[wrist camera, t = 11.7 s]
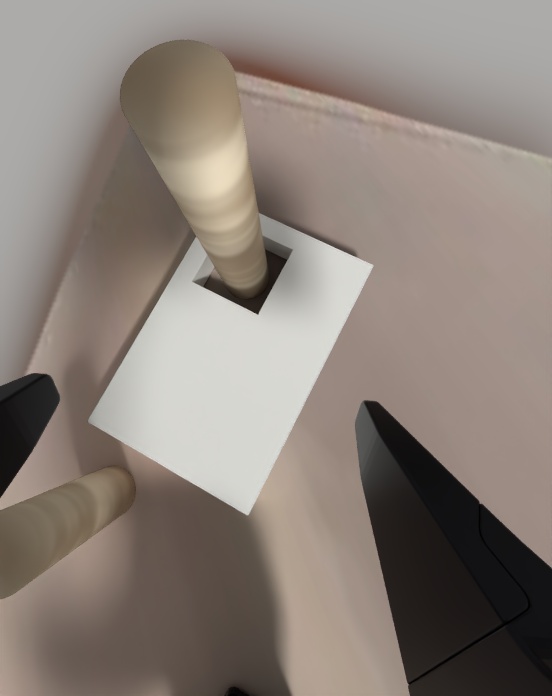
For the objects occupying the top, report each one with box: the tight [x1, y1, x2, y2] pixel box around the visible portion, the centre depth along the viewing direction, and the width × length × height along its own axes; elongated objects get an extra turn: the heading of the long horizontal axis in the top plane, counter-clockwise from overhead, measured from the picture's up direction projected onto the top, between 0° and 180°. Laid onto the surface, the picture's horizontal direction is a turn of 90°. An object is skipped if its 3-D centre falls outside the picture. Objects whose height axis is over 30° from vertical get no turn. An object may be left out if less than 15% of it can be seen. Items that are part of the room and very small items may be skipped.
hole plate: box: [87, 213, 374, 516], centre depth 20 cm, size 18×12×2 cm, turn 152°
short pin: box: [0, 466, 135, 599], centre depth 16 cm, size 3×3×8 cm
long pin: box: [120, 40, 269, 299], centre depth 15 cm, size 3×3×14 cm
